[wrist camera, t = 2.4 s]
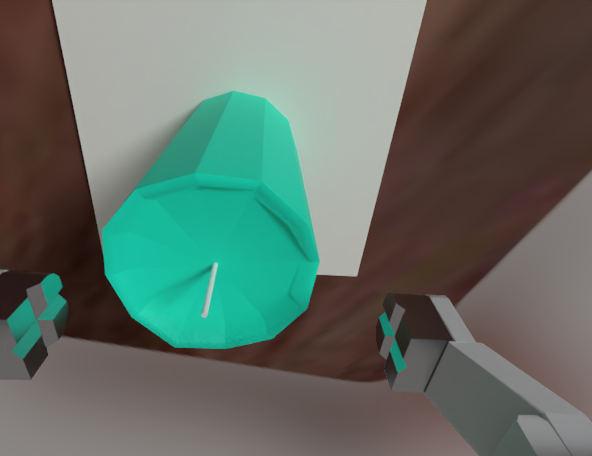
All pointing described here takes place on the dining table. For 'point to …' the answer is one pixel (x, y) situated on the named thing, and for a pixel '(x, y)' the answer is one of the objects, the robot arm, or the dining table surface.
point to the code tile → (247, 79)
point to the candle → (217, 231)
